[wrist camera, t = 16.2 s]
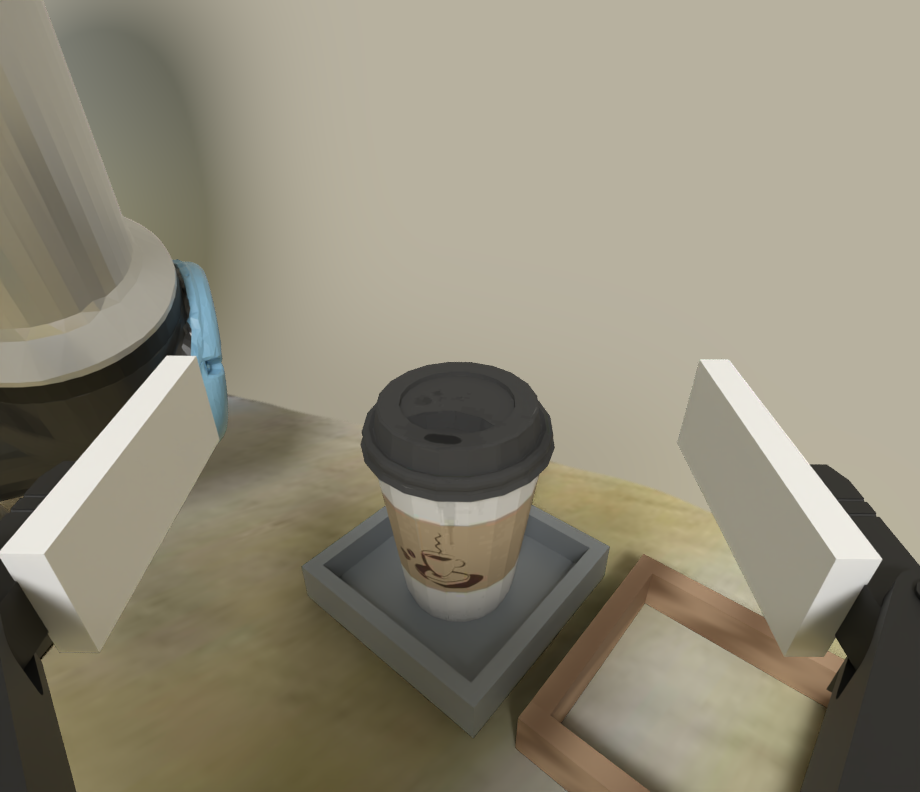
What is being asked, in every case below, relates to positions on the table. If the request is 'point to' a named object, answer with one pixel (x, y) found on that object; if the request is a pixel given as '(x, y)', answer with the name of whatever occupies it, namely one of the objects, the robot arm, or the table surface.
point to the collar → (684, 600)
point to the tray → (457, 643)
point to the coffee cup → (458, 479)
